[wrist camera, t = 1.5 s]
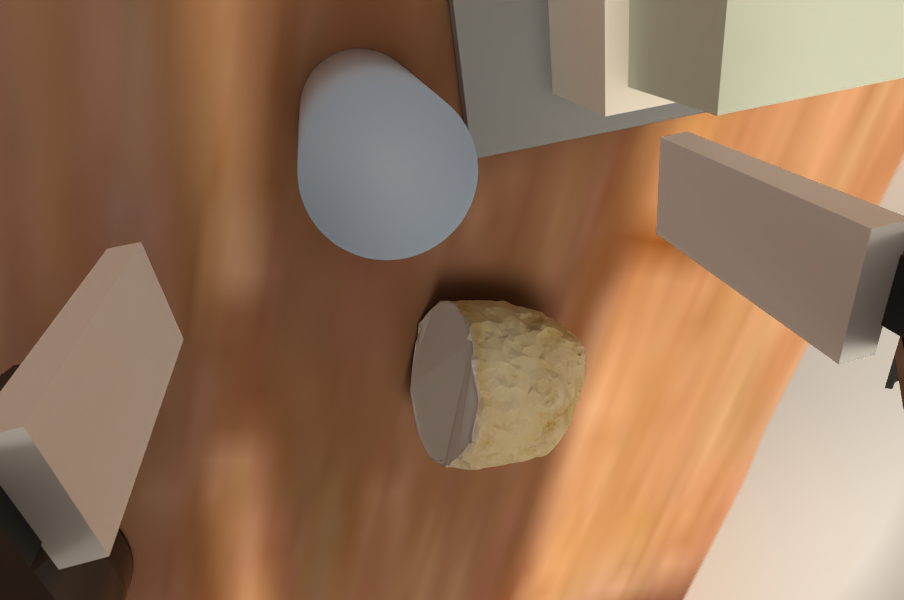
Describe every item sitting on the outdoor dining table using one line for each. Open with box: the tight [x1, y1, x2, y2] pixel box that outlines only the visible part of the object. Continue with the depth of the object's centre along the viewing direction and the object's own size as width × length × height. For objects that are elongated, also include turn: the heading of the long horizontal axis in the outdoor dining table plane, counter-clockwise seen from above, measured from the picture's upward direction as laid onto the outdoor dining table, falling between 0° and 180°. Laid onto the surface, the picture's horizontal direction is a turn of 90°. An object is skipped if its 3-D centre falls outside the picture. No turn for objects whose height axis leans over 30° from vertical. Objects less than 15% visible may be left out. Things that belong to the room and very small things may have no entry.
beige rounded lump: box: [410, 300, 586, 470], centre depth 33 cm, size 10×10×10 cm
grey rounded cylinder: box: [297, 48, 478, 260], centre depth 24 cm, size 6×6×11 cm
